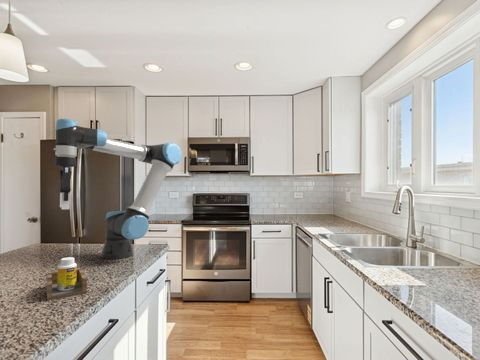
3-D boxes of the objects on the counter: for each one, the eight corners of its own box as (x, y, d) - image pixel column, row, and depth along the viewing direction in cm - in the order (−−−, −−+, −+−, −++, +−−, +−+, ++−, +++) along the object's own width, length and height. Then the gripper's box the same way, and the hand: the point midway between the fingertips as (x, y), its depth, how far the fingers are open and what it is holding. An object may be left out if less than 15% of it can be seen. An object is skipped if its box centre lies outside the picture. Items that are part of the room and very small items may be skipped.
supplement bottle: (65, 292, 91) (66, 261, 92) (52, 290, 93) (53, 259, 93) (80, 287, 97) (80, 257, 97) (67, 285, 98) (68, 255, 99)
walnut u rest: (86, 293, 94) (87, 278, 94) (47, 300, 87) (47, 285, 88) (81, 281, 105) (82, 268, 105) (46, 287, 99) (47, 273, 99)
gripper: (54, 158, 124) (52, 206, 123) (56, 153, 103) (54, 210, 103) (73, 159, 128) (72, 206, 127) (79, 154, 108) (78, 210, 107)
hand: (64, 208), depth 115 cm, fingers open, 13 cm apart
